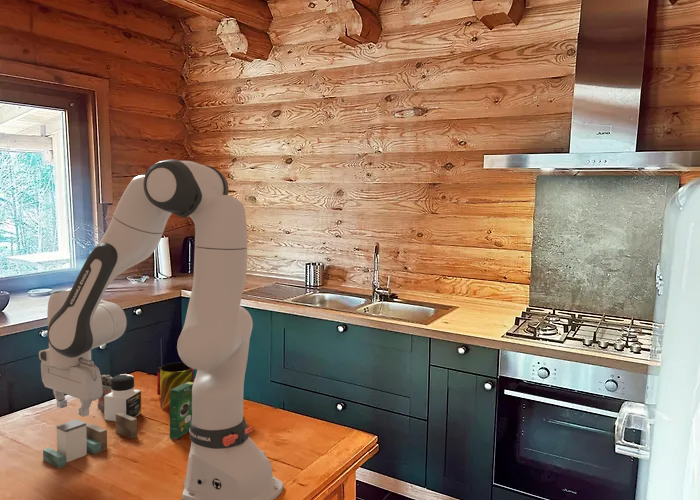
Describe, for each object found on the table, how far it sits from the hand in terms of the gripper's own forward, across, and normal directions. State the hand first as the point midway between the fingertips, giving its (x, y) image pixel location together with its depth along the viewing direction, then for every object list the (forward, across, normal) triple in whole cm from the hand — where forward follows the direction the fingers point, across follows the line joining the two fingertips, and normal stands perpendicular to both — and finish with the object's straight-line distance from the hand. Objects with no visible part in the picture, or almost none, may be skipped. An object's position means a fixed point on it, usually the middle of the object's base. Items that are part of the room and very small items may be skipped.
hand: (72, 411), depth 128 cm
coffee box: (+12, -10, -24) cm, 29 cm away
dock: (+11, +1, -5) cm, 12 cm away
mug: (+12, +8, -35) cm, 38 cm away
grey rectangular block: (+11, +1, 0) cm, 11 cm away
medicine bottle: (+12, +12, -21) cm, 27 cm away
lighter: (+11, +21, -22) cm, 32 cm away
